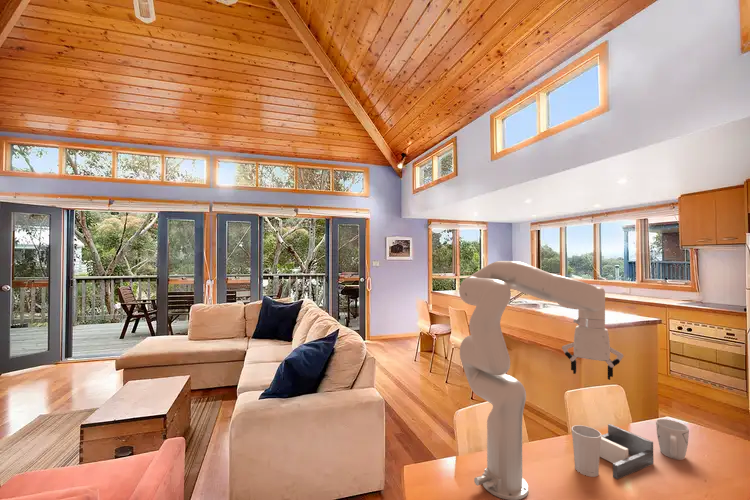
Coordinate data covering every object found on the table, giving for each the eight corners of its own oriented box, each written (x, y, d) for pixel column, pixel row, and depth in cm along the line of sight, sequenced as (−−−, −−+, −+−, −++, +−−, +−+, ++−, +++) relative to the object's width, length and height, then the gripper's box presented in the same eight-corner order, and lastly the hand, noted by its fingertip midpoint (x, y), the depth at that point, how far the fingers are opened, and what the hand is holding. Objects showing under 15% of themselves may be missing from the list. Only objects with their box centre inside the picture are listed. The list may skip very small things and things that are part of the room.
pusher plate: (625, 469, 108) (625, 450, 108) (593, 453, 117) (593, 435, 117) (628, 468, 109) (628, 448, 109) (596, 452, 118) (596, 434, 118)
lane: (617, 479, 104) (616, 455, 104) (574, 456, 116) (574, 434, 116) (653, 463, 112) (653, 441, 112) (610, 443, 124) (610, 423, 124)
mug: (691, 469, 109) (691, 437, 109) (657, 459, 114) (656, 429, 114) (687, 453, 118) (687, 423, 118) (655, 445, 123) (655, 416, 123)
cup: (593, 463, 111) (593, 425, 112) (607, 479, 104) (607, 438, 104) (567, 462, 112) (566, 424, 113) (579, 477, 104) (578, 436, 105)
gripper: (560, 322, 117) (560, 373, 117) (623, 328, 108) (624, 384, 107) (563, 319, 124) (563, 368, 123) (622, 325, 114) (623, 378, 113)
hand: (591, 375), depth 115 cm, fingers open, 9 cm apart
